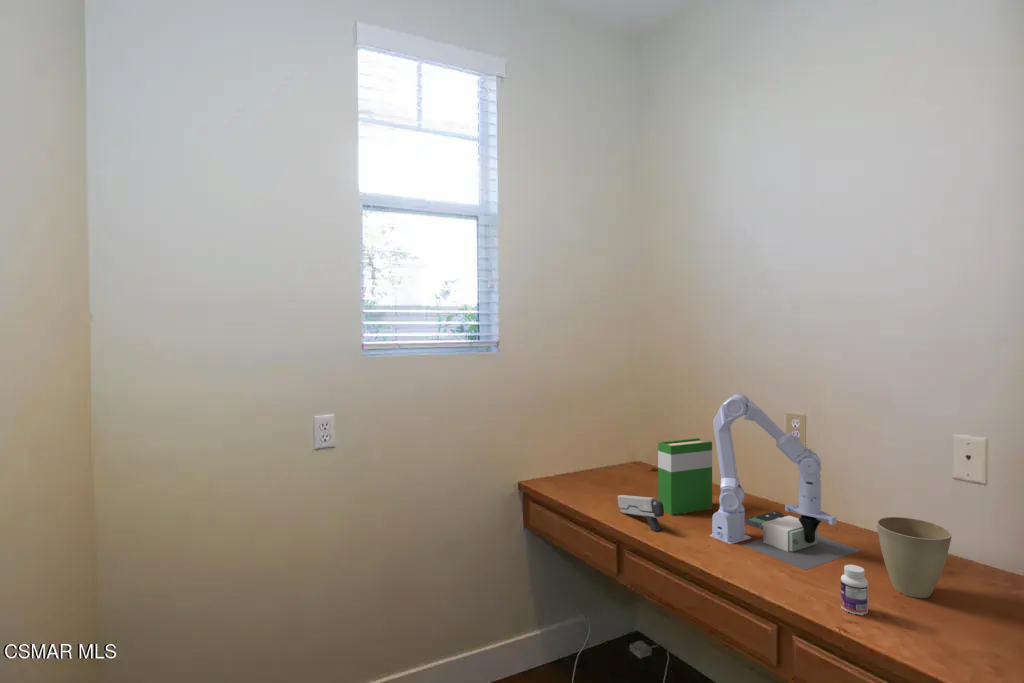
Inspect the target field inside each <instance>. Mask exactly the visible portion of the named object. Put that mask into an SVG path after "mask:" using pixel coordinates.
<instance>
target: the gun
mask: <svg viewBox="0 0 1024 683" xmlns="http://www.w3.org/2000/svg"><path fill="white" fill-rule="evenodd" d="M617 503H618V508H619V510H620V513H621V512H622V514H627V515H634V516H640V517H645V518H646V520H647V522H648V525H649V527H650V529H651V530H652V531H654V532H659V531H662V527H661V525H660V523H659V521H658V518H661V517H664V515H665V512H664V508H663V504H662V502H661V501H658V499H657V498H656V497H651V496H650V497H649V496H648V497H647V496H639V495H638V496H636V495H629V494H628V495H626V494H620V495H617Z"/></svg>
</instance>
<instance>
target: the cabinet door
mask: <svg viewBox="0 0 1024 683" xmlns="http://www.w3.org/2000/svg"><path fill="white" fill-rule="evenodd" d="M818 529H819V528H818V527H817V528H816V531H815V541H814V542H813V543H807V542H806V540H805V531H804V528H801V529H797V530H794V531H790V532H789V551H792V552H793V551H796V550H799V549H802V548H806V547H809V546H812V545H815V544H817V543H818V536H819V534H818Z"/></svg>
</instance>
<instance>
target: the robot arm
mask: <svg viewBox="0 0 1024 683" xmlns="http://www.w3.org/2000/svg"><path fill="white" fill-rule="evenodd" d="M743 416H744V418H743V420H747V421H752V422H755V423H756V424H757V425H758V426H759V427H761V428H762V429H763V430H764V431H765V432H767V433H768V435H770V436H771V437H772V438H773V439H774V440H775V441H776V442H775V443H776V448H777V449H778V450H780V451H781V453H782V454H784V456H786V457H787V458H788V459H789V461H791V462H792V463H794V464H796V465H797V470H798V471H799V478H798V505H797V504H793V503H790V502H788V503H787V504H786V503H785V504H784V511H785V512H790V513H794V514H798V515H801V516H800V517H798V519H799V521H800V523H801V524H802V526H803V528H804V531H805V540H806V542H807V543H813V542H814V541H815V531H816V528H817V527H818V526H819V525H820V523H821V522H824V523H827V524H828V525H831V526H834V525H837V516H834V515H831V514H829V513H827V512H825V511H823V510H822V480H821V477H822V476H821V470H822V461H821V458H820V457H819V456H818V453H816V452H813V450H812V448H808V447H806V445H805V444H804V443H802V442H801V441H800V437H799V436H798V435H797V434H795V435H794V434H793V433H791V432H785V431H783V430H782V429H781V427H779V425H777V424H776V422H774V420H773V419H772V418H770V416H769V415H768V414H767V413H765V411H763V410H762V408H760V406H758V405H757V404H756V403H755V402H754V401H752V400H750V399H749V398H748V396H746V395H745V394H742V393H736V394H735V393H734V394H733V395H732V396H730V397H729V398H728V399H726V400H725V401H724V402H722V404H721V405H720V407H719V409H718V411H717V413H716V415H715V417H714V418H713V421H712V425H713V431H714V437H715V438H714V439H715V445H716V451H717V459H718V467H719V473H720V487H719V488H720V495H719V497H718V502H719V508H718V511H715V512H714V513H713V514H712V519H711V521H712V522H711V524H712V525H711V528H712V529H711V530H712V531H711V534H709V537H711V538H713V539H717V540H719V541H721V542H724V543H726V544H729V545H732V544H735V543H736V544H737V543H740V542H743V541H747V540H751V539H752V537H751V536H749V535H747V534H745V533H746V530H745V529H746V528H745V527H746V523H745V522H746V519H745V518H746V517H745V516H746V513H745V512H746V511H745V510H746V508H745V506H744V505H743V503H742V502H744V500H745V498H746V492H745V490H744V488H743V486H742V485H741V480H740V478H739V475H738V470H737V462H736V456H735V449H734V443H733V442H734V441H733V435H732V434H733V433H732V427H731V425H733V424H734V422H735V421H736V420H738V419H740V418H742V417H743Z"/></svg>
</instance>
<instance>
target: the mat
mask: <svg viewBox="0 0 1024 683" xmlns="http://www.w3.org/2000/svg"><path fill="white" fill-rule="evenodd" d="M741 545H742V546H744V547H746V548H749V549H751V550H755V551H756V552H759V553H760V554H761V553H762V554H764V555H766V556H769V557H770V558H774V559H776V560H778V561H781V562H784V563H786V564H789V565H791V566H794V567H796V568H799V569H801V570H804V571H806V570H810V569H813V568H815V567H818V566H820V565H824V564H827V563H829V562H832V561H835V560H839V559H841V558H843V557H847V556H849V555H852V554H855V553H858V552H861V551H862V549H859V548H857V547H855V546H850V545H847V544H845V543H841V542H839V541H836V540H833V539H829V538H827V537H824V536H821V535H818V543H817V544H815V545H812V546H809V547H806V548H802V549H799V550H796V551H793V552H792V551H785V550H782V549H780V548H777V547H774V546H772V545H769V544H767V543H764V542H763V538H760V539H757V540H753V541H749V542H746V543H743V544H741Z"/></svg>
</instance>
